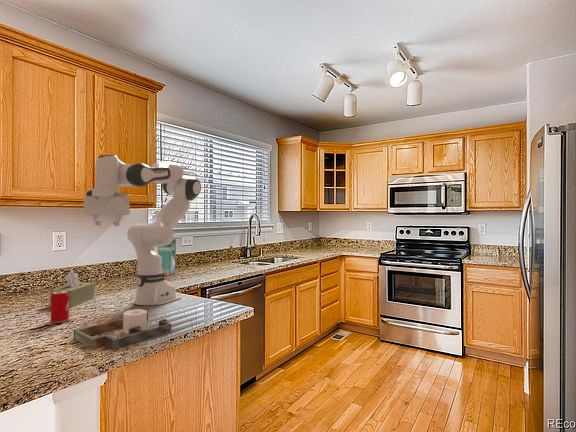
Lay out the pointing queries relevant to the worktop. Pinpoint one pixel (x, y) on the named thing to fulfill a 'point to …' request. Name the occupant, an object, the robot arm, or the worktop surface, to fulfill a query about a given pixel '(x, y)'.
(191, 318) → the worktop surface
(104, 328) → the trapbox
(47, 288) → the worktop surface
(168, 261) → the milk carton
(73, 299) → the tissue box
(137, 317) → the toilet paper
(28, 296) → the worktop surface
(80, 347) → the worktop surface
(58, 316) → the beverage can
